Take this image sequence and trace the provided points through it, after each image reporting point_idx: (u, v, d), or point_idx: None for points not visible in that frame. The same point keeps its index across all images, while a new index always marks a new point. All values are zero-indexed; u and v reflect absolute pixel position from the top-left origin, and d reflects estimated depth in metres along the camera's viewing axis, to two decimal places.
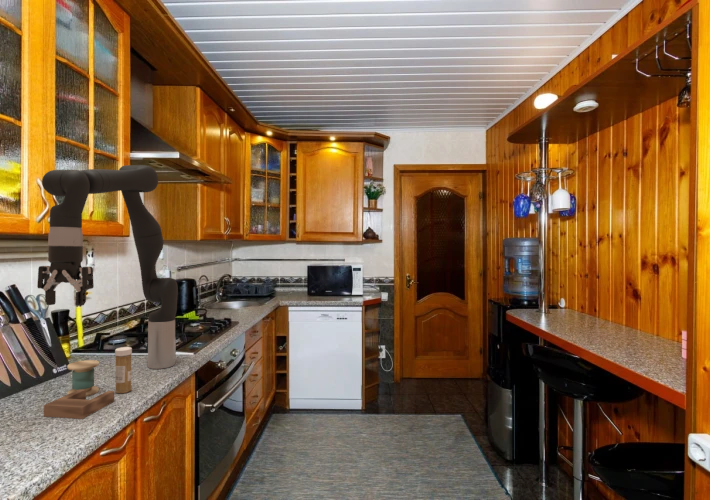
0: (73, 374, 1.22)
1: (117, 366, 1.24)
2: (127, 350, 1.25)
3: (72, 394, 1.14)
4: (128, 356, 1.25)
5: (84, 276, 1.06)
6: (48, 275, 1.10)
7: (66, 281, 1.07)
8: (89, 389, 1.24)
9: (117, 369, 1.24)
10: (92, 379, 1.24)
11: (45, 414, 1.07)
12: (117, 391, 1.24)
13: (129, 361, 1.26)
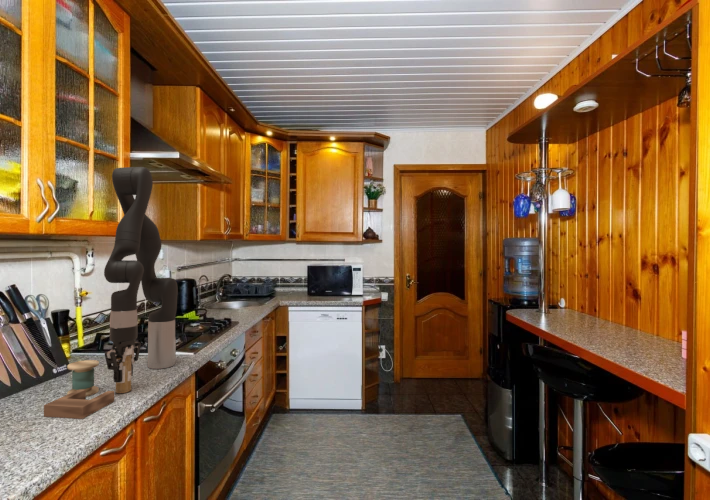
0: (73, 374, 1.22)
1: None
2: (127, 350, 1.25)
3: (72, 394, 1.14)
4: (128, 356, 1.25)
5: (138, 350, 1.31)
6: None
7: None
8: (89, 389, 1.24)
9: None
10: (92, 379, 1.24)
11: (45, 414, 1.07)
12: (117, 391, 1.24)
13: (129, 361, 1.26)
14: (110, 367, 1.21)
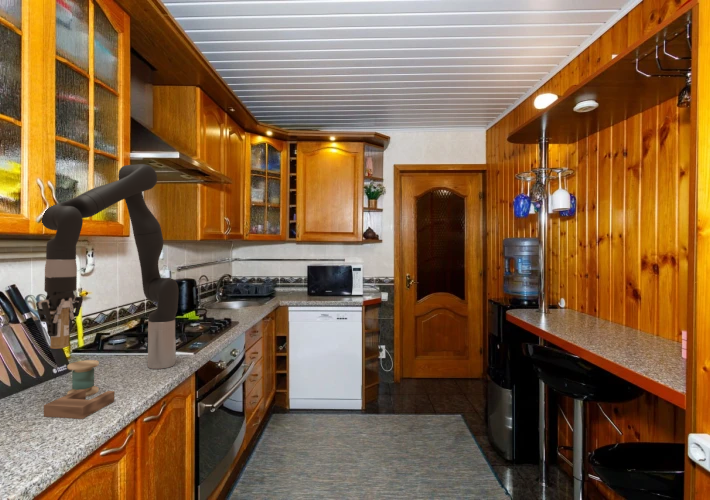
0: (73, 374, 1.22)
1: None
2: (64, 302, 1.16)
3: (72, 394, 1.14)
4: (65, 309, 1.16)
5: (79, 305, 1.22)
6: None
7: None
8: (89, 389, 1.24)
9: None
10: (92, 379, 1.24)
11: (45, 414, 1.07)
12: (52, 346, 1.15)
13: (66, 314, 1.17)
14: (43, 319, 1.12)
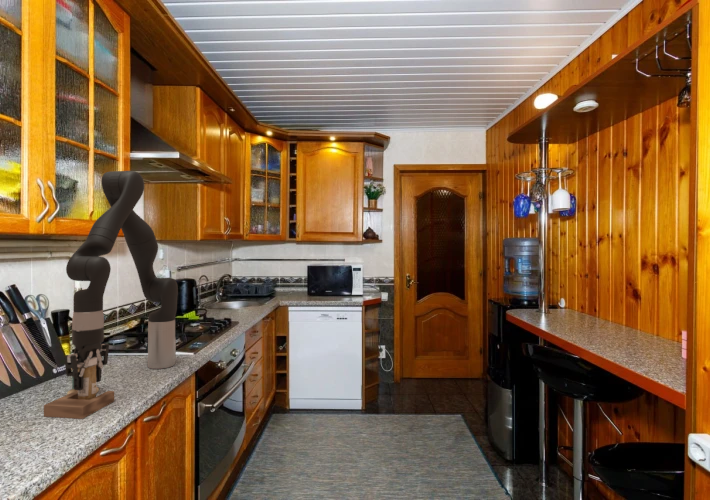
0: None
1: None
2: (91, 360, 1.13)
3: (72, 394, 1.14)
4: (92, 367, 1.14)
5: (107, 352, 1.21)
6: None
7: None
8: None
9: None
10: None
11: (45, 414, 1.07)
12: None
13: (94, 372, 1.14)
14: (69, 373, 1.09)
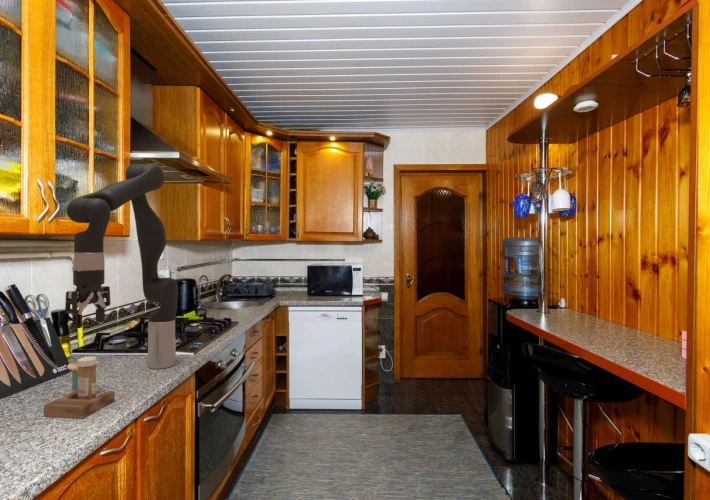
0: (73, 374, 1.22)
1: (79, 378, 1.12)
2: (91, 360, 1.13)
3: (72, 394, 1.14)
4: (92, 367, 1.14)
5: (108, 294, 1.22)
6: None
7: (95, 301, 1.17)
8: None
9: (79, 381, 1.12)
10: None
11: (45, 414, 1.07)
12: None
13: (93, 372, 1.14)
14: (68, 310, 1.09)
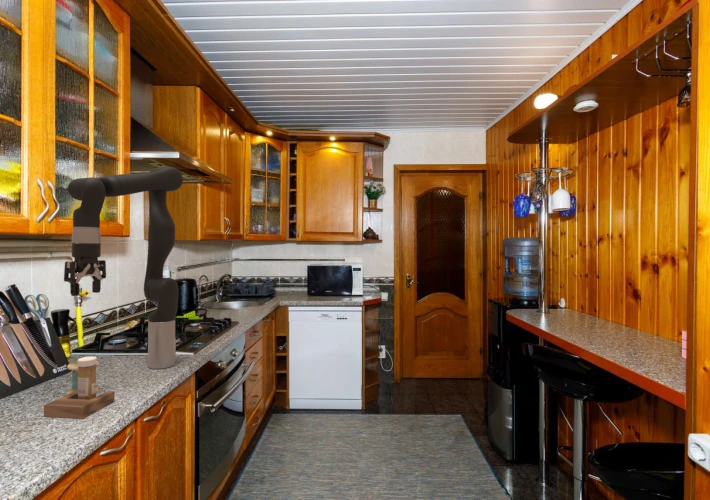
0: (73, 374, 1.22)
1: (80, 378, 1.12)
2: (91, 360, 1.13)
3: (72, 394, 1.14)
4: (92, 367, 1.14)
5: (104, 267, 1.32)
6: None
7: (92, 273, 1.27)
8: None
9: (79, 381, 1.12)
10: None
11: (45, 414, 1.07)
12: None
13: (93, 372, 1.14)
14: (66, 278, 1.19)
